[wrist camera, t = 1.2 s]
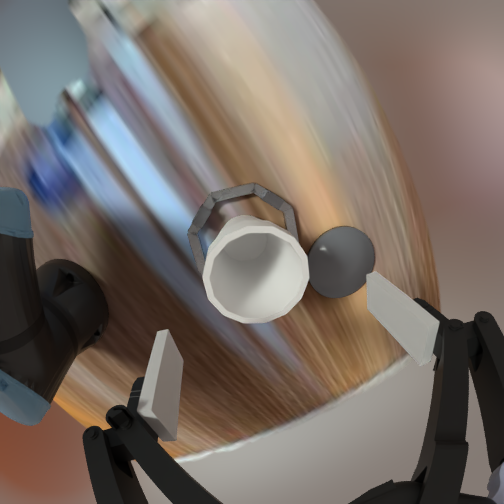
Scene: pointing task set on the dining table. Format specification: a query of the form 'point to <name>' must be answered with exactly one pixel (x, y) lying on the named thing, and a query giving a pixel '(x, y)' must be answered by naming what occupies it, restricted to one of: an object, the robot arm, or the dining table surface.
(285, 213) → the collar
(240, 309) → the foam cup
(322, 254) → the coaster
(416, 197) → the dining table surface
